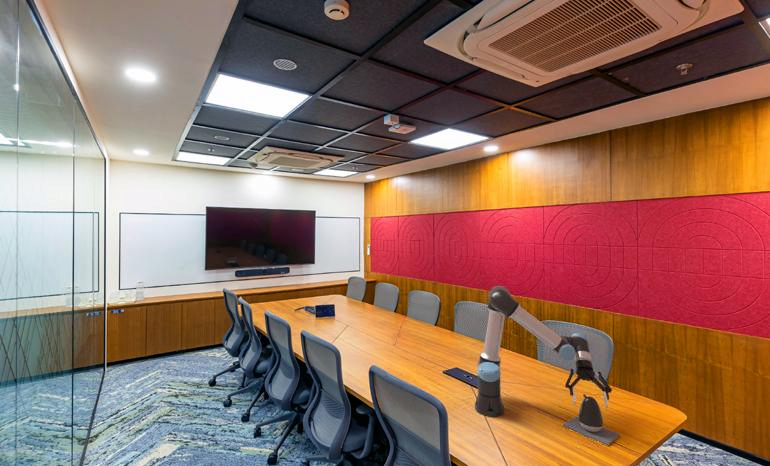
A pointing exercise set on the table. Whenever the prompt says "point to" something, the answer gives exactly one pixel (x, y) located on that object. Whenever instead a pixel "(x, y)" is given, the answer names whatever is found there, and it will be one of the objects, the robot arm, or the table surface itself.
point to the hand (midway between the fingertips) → (590, 404)
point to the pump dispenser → (590, 415)
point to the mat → (601, 436)
